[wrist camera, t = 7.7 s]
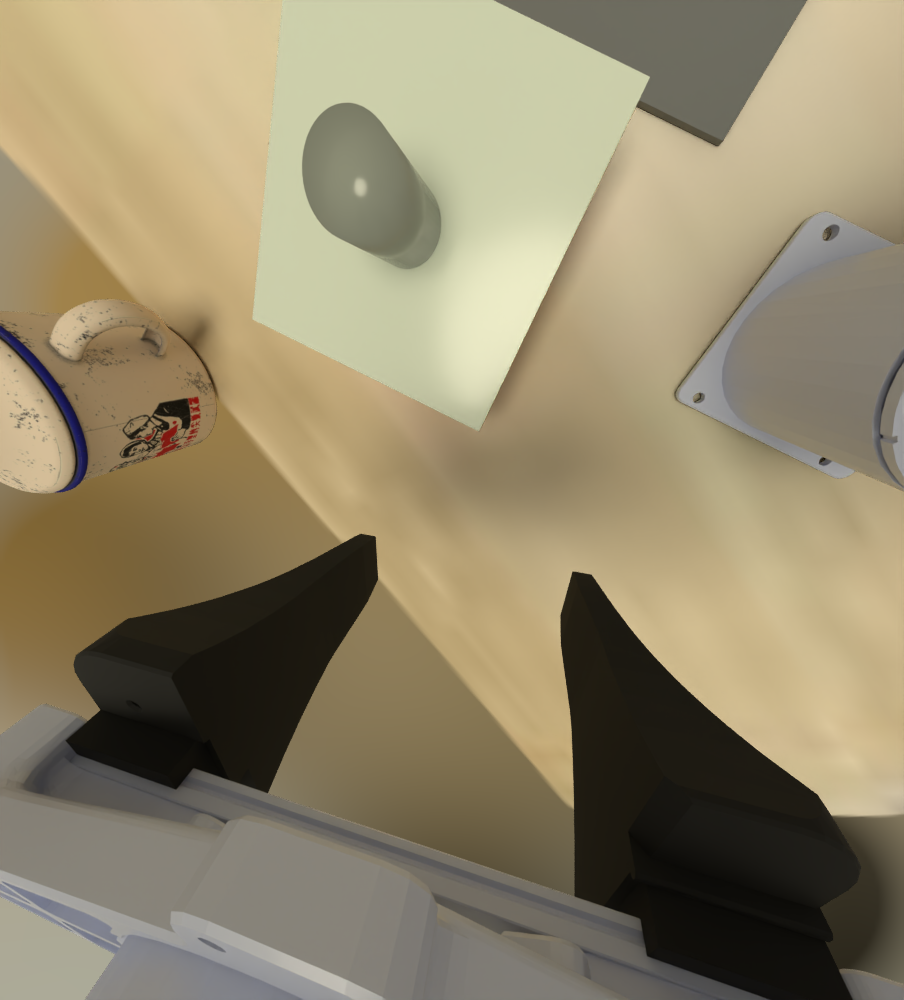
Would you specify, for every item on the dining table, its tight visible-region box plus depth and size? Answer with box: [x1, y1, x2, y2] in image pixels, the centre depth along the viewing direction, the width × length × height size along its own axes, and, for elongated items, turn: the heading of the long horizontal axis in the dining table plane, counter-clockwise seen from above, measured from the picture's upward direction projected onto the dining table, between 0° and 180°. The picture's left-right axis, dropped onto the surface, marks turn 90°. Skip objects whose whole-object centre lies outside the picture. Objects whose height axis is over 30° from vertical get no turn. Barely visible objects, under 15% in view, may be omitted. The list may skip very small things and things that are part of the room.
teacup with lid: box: [0, 299, 217, 493], centre depth 18 cm, size 12×9×12 cm
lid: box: [252, 0, 650, 431], centre depth 11 cm, size 12×12×5 cm
